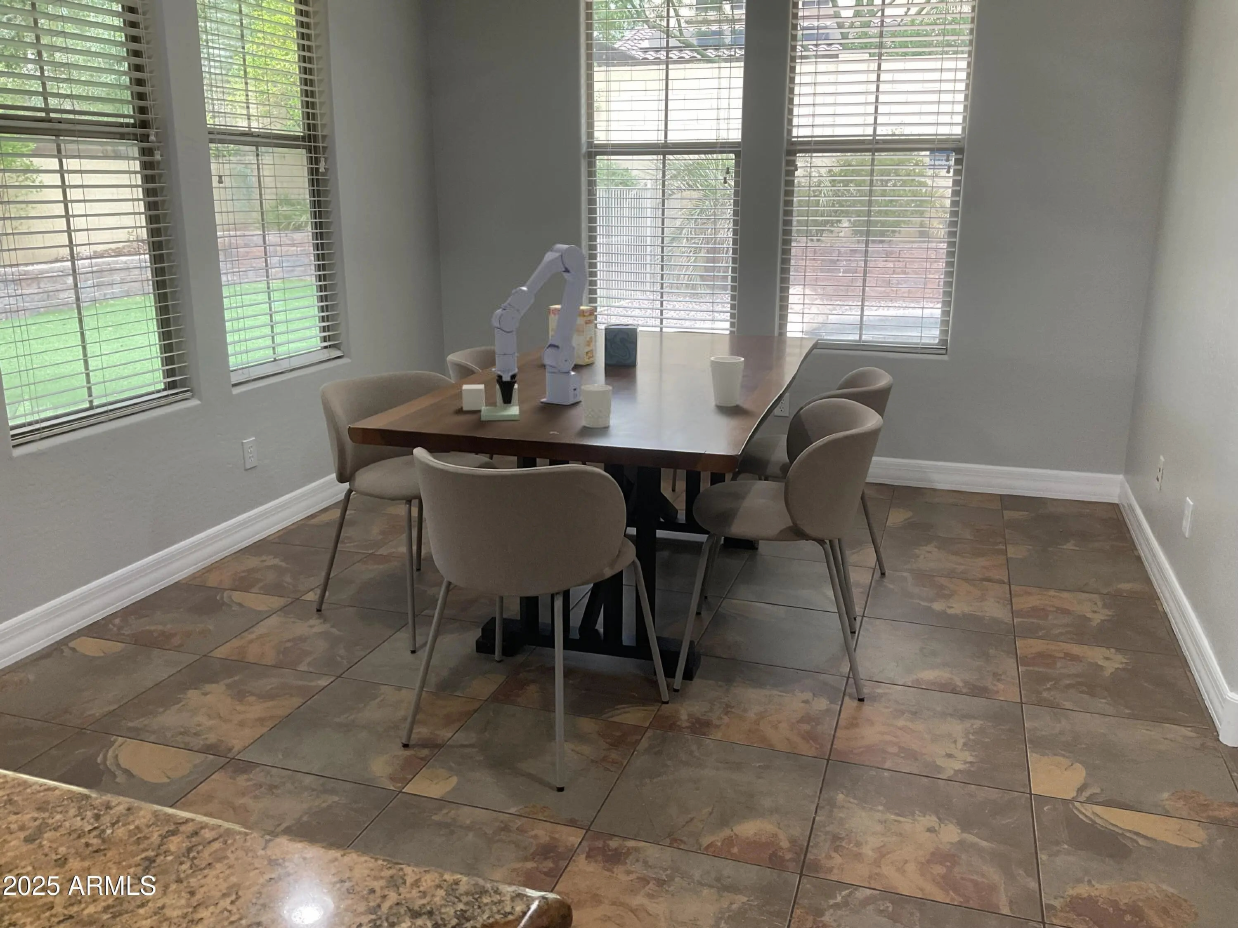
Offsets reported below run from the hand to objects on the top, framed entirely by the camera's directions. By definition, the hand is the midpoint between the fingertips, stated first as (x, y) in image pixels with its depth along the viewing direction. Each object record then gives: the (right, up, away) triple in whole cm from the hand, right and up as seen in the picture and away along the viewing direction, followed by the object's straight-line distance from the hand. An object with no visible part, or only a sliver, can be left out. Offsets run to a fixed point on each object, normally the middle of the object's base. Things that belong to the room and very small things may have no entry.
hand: (507, 401), depth 280 cm
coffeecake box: (+15, +18, +73) cm, 76 cm away
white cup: (+26, -8, -21) cm, 34 cm away
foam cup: (+62, -1, +5) cm, 62 cm away
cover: (-9, -2, -1) cm, 9 cm away
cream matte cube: (0, -2, 0) cm, 2 cm away
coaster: (-1, -5, -10) cm, 11 cm away
